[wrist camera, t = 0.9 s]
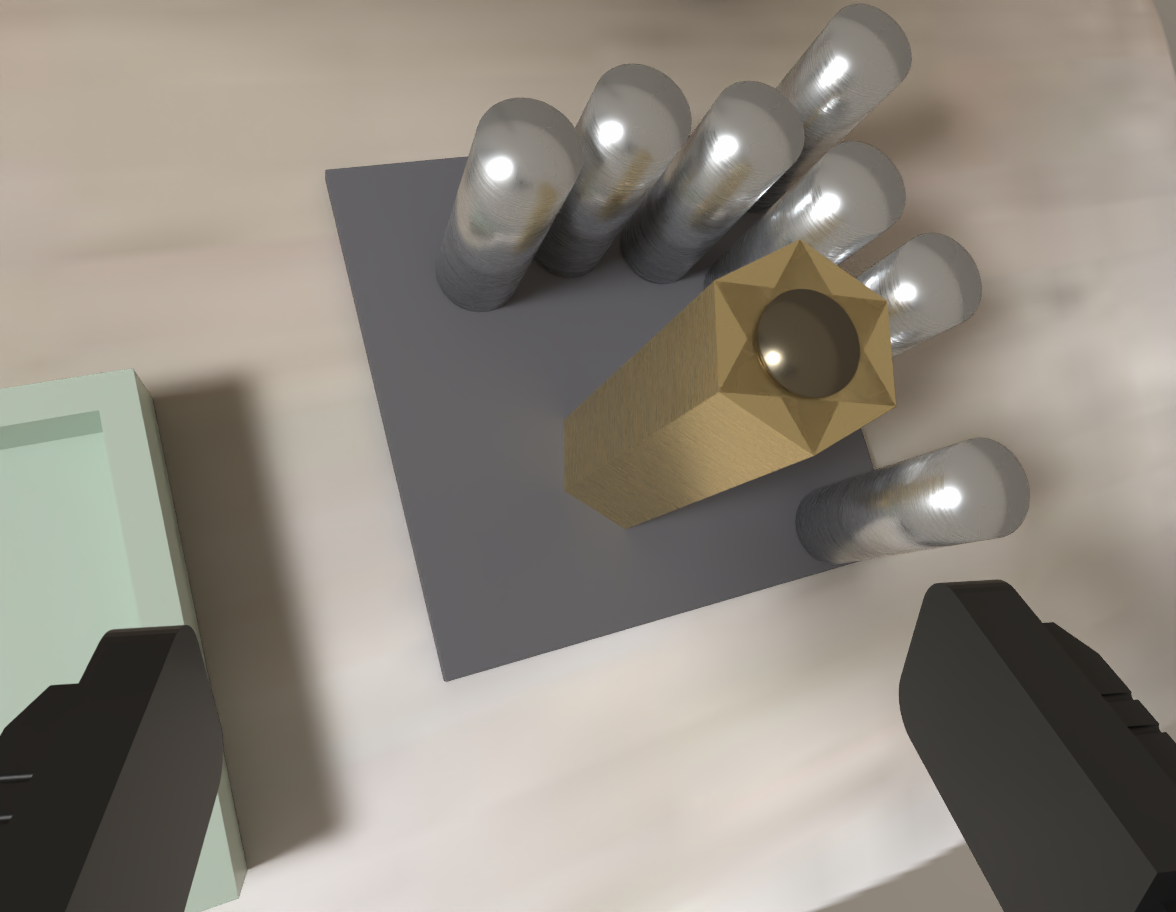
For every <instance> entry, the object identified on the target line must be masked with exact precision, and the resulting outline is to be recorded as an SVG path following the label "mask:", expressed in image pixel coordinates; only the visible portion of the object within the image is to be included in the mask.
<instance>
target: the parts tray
mask: <svg viewBox="0 0 1176 912" xmlns="http://www.w3.org/2000/svg"><path fill="white" fill-rule="evenodd" d="M176 625H189V626H190V627H192V629H193V630H194V632H195V634H196V636H197V639H198V643H199V646H200V650H201V654H202V657H203V661H204V665H205V669H206V672H207V667H206V662H205V657H204V652H203V647H202V642H201V637H200V632H199V627H198V622H197V617H196V612H195V607H194V602H193V597H192V592H191V587H190V582H189V577H188V573H187V568H186V563H185V558H184V553H183V548H182V543H181V538H180V533H179V528H178V523H177V518H176V513H175V508H174V503H173V498H172V493H171V488H170V483H169V478H168V473H167V468H166V463H165V458H164V453H163V448H162V443H161V438H160V433H159V428H158V424H157V419H156V414H155V409H154V404H153V399H152V397H151V395H150V393H149V392H148V390H147V389H146V387H145V386H144V384H143V383H142V381H141V380H140V378H139V377H138V375H137V374H136V372H135V371H134V369H133V368H131V369H124V370H118V371H112V372H105V373H99V374H92V375H86V376H79V377H73V378H66V379H60V380H54V381H47V382H41V383H34V384H28V385H21V386H15V387H8V388H2V389H0V735H1V733H2V731H3V730H4V728H5V727H6V726H7V725H8V724H9V723H10V722H11V721H12V720H13V719H14V718H16V717H17V716H18V715H19V714H20V713H21V712H22V711H23V710H24V709H25V708H26V707H27V706H28V705H30V704H31V703H32V702H33V701H34V700H35V699H36V698H37V697H38V696H39V695H40V694H41V693H42V692H43V691H45V690H46V689H47V688H48V687H49V686H50V685H60V684H76V683H79V681H80V679H81V677H82V675H83V673H84V671H85V669H86V667H87V665H88V663H89V661H90V659H91V657H92V655H93V653H94V651H95V649H96V647H97V645H98V644H99V642H100V640H101V638H102V637H103V636H104V634H105V633H106V632H108V631H109V630H112V629H124V628H141V627H158V626H176ZM207 676H208V672H207ZM208 680H209V677H208ZM209 683H210V682H209ZM246 873H247V865H246V861H245V856H244V851H243V846H242V841H241V836H240V831H239V826H238V821H237V816H236V811H235V806H234V801H233V796H232V791H231V786H230V781H229V776H228V771H227V766H226V761H225V756H224V751H223V764H222V773H221V780H220V785H219V789H218V793H217V796H216V800H215V803H214V807H213V811H212V814H211V818H210V821H209V825H208V828H207V832H206V836H205V839H204V843H203V846H202V850H201V853H200V857H199V861H198V864H197V868H196V871H195V875H194V878H193V882H192V886H191V889H190V893H189V896H188V900H187V903H186V907H185V911H184V912H201V911H204V910H207V909H210V908H212V907H215V906H218V905H221V904H224V903H227V902H230V901H233V900H235V899H238V898H239V896H240V892H241V889H242V886H243V883H244V880H245V877H246Z"/></svg>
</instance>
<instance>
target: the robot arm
mask: <svg viewBox="0 0 1176 912" xmlns="http://www.w3.org/2000/svg"><path fill="white" fill-rule="evenodd" d="M899 704H900V711H901V715H902V720H903V723H904V726H905V729H906V731H907V734H908V736H909V738H910V740H911V741H912V743H913V745H914V747H915V749H916V751H917V753H918V754H919V756H920V758H921V760H922V762H923V764H924V765H925V767H926V769H927V771H928V773H929V775H930V776H931V778H932V780H933V782H934V784H935V786H936V787H937V789H938V791H939V793H940V795H941V797H942V798H943V800H944V802H945V804H946V806H947V808H948V810H949V811H950V813H951V815H952V817H953V819H954V821H955V822H956V824H957V826H958V828H959V830H960V832H961V833H962V835H963V837H964V839H965V841H966V843H967V844H968V846H969V848H970V849H971V852H972V854H973V855H974V857H975V859H976V861H977V863H978V865H979V867H980V868H981V870H982V872H983V874H984V876H985V877H986V879H987V881H988V883H989V885H990V887H991V889H992V890H993V892H994V894H995V896H996V898H997V899H998V901H999V903H1000V905H1001V907H1002V909H1003V911H1004V912H1176V743H1175V742H1174V741H1173V740H1172V738H1171V737H1170V736H1169V735H1168V734H1167V733H1166V732H1163V733H1161V731H1160V730H1159V723H1158V722H1157V721H1156V720H1155V719H1154V717H1153V716H1152V715H1151V714H1150V713H1149V712H1148V710H1147V709H1146V708H1145V707H1144V706H1143V705H1142V704H1141V702H1140V701H1139V700H1133V699H1132V696H1131V691H1130V690H1129V688H1128V687H1127V686H1126V685H1125V684H1124V683H1123V681H1122V680H1121V679H1120V678H1119V677H1118V676H1117V675H1116V673H1115V672H1114V671H1113V670H1112V669H1111V668H1110V666H1109V665H1108V664H1107V663H1106V662H1105V661H1104V659H1103V658H1102V657H1101V656H1100V655H1099V654H1098V653H1097V652H1095V651H1094V650H1092V649H1091V648H1090V647H1088V646H1087V645H1085V644H1084V643H1082V642H1081V641H1079V640H1078V639H1077V638H1075V637H1074V636H1072V635H1071V634H1069V633H1068V632H1067V631H1065V630H1064V629H1062V628H1061V627H1059V626H1058V625H1056V624H1055V623H1054V622H1051V623H1042V622H1041V621H1040V620H1039V618H1038V617H1037V616H1036V615H1035V614H1034V612H1033V611H1032V610H1031V609H1030V607H1029V606H1028V605H1027V604H1026V603H1025V601H1024V600H1023V599H1022V598H1021V596H1020V595H1019V594H1018V593H1017V592H1016V590H1015V589H1014V588H1013V587H1012V586H1011V585H1009V584H1008V583H1007V582H1005V581H1002V580H983V581H966V582H949V583H936V584H934V585H932V586H931V587H930V588H929V589H928V590H927V592H926V594H925V596H924V599H923V602H922V606H921V609H920V613H919V616H918V619H917V623H916V626H915V630H914V633H913V637H912V640H911V644H910V647H909V651H908V654H907V657H906V661H905V664H904V668H903V671H902V675H901V679H900V684H899ZM222 764H223V738H222V730H221V725H220V721H219V717H218V713H217V710H216V706H215V702H214V698H213V695H212V691H211V687H210V683H209V680H208V676H207V672H206V669H205V665H204V661H203V657H202V654H201V650H200V646H199V643H198V639H197V636H196V634H195V632H194V630H193V629H192V627H190V626H189V625H176V626H158V627H141V628H124V629H112V630H109V631H108V632H106V633H105V634H104V636H103V637H102V638H101V640H100V642H99V644H98V645H97V647H96V649H95V651H94V653H93V655H92V657H91V659H90V661H89V663H88V665H87V667H86V669H85V671H84V673H83V675H82V677H81V679H80V681H79V683H76V684H60V685H50V686H49V687H48V688H47V689H46V690H45V691H43V692H42V693H41V694H40V695H39V696H38V697H37V698H36V699H35V700H34V701H33V702H32V703H31V704H30V705H28V706H27V707H26V708H25V709H24V710H23V711H22V712H21V713H20V714H19V715H18V716H17V717H16V718H14V719H13V720H12V721H11V722H10V723H9V724H8V725H7V726H6V727H5V728H4V730H3V731H2V733H1V735H0V912H184V911H185V907H186V903H187V900H188V896H189V893H190V889H191V886H192V882H193V878H194V875H195V871H196V868H197V864H198V861H199V857H200V853H201V850H202V846H203V843H204V839H205V836H206V832H207V828H208V825H209V821H210V818H211V814H212V811H213V807H214V803H215V800H216V796H217V793H218V789H219V785H220V780H221V773H222Z"/></svg>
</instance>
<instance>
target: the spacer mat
mask: <svg viewBox="0 0 1176 912" xmlns="http://www.w3.org/2000/svg"><path fill="white" fill-rule="evenodd" d="M689 137H690V136H688V138H689ZM688 138H687V140H688ZM687 140H686V141H687ZM684 144H685V143H684ZM682 147H683V146H682ZM679 151H680V150H679ZM676 155H677V154H676ZM674 158H675V157H674ZM467 160H468V157H458V158H447V159H436V160H426V161H415V162H405V163H394V164H383V165H373V166H362V167H351V168H341V169H330V170H325V180H326V184H327V188H328V193H329V197H330V201H331V205H332V210H333V214H334V218H335V222H336V226H337V231H338V235H339V239H340V243H341V248H342V252H343V256H344V260H345V265H346V269H347V273H348V277H349V281H350V286H351V290H352V294H353V298H354V303H355V307H356V311H357V315H358V319H359V324H360V328H361V332H362V336H363V341H364V345H365V349H366V353H367V358H368V362H369V366H370V370H371V374H372V379H373V383H374V387H375V391H376V396H377V400H378V404H379V408H380V413H381V417H382V421H383V425H384V429H385V434H386V438H387V442H388V446H389V451H390V455H391V459H392V463H393V467H394V472H395V476H396V480H397V484H398V489H399V493H400V497H401V501H402V506H403V510H404V514H405V518H406V522H407V527H408V531H409V535H410V539H411V544H412V548H413V552H414V556H415V561H416V565H417V569H418V573H419V577H420V582H421V586H422V590H423V594H424V599H425V603H426V607H427V611H428V615H429V620H430V624H431V628H432V632H433V637H434V641H435V645H436V649H437V654H438V658H439V662H440V666H441V670H442V675H443V679H444V681H446V682H447V681H451V680H454V679H458V678H461V677H465V676H468V675H471V674H475V673H478V672H482V671H485V670H489V669H492V668H495V667H499V666H502V665H506V664H509V663H512V662H516V661H519V660H523V659H526V658H530V657H533V656H536V655H540V654H543V653H547V652H550V651H554V650H557V649H560V648H564V647H567V646H571V645H574V644H577V643H581V642H584V641H588V640H591V639H595V638H598V637H601V636H605V635H608V634H612V633H615V632H619V631H622V630H625V629H629V628H632V627H636V626H639V625H642V624H646V623H649V622H653V621H656V620H660V619H663V618H666V617H670V616H673V615H677V614H680V613H684V612H687V611H690V610H694V609H697V608H701V607H704V606H707V605H711V604H714V603H718V602H721V601H725V600H728V599H731V598H735V597H738V596H742V595H745V594H749V593H752V592H755V591H759V590H762V589H766V588H769V587H772V586H776V585H779V584H783V583H786V582H790V581H793V580H796V579H800V578H803V577H807V576H810V575H813V574H817V573H820V572H824V571H827V570H831V569H834V568H837V567H841V566H844V565H848V564H851V563H855V562H858V561H854V562H848V563H842V564H834V565H832V564H825V563H822V562H820V561H818V560H816V559H814V558H813V557H812V556H810V555H809V554H808V553H807V552H806V550H805V549H804V548H803V546H802V545H801V543H800V541H799V539H798V536H797V532H796V527H795V517H796V512H797V508H798V506H799V504H800V502H801V500H802V499H803V498H804V497H805V496H806V495H807V494H808V493H809V492H811V491H813V490H814V489H817V488H820V487H824V486H827V485H830V484H833V483H836V482H839V481H842V480H845V479H848V478H852V477H855V476H858V475H861V474H864V473H867V472H870V471H873V470H874V469H873V465H872V462H871V459H870V456H869V453H868V449H867V446H866V443H865V440H864V436H863V433H862V430H861V428H859V429H858V430H856V431H854V432H853V433H851V434H849V435H848V436H846V437H844V438H843V439H841V440H839V441H838V442H836V443H834V444H833V445H831V446H829V447H828V448H826V449H824V450H823V451H821V452H819V453H818V454H816V455H814V456H812V457H810V458H807V459H804V460H802V461H799V462H797V463H794V464H792V465H789V466H787V467H784V468H781V469H779V470H776V471H774V472H771V473H769V474H766V475H763V476H761V477H758V478H756V479H753V480H751V481H748V482H745V483H743V484H740V485H738V486H735V487H733V488H730V489H728V490H725V491H722V492H720V493H717V494H715V495H712V496H710V497H707V498H704V499H702V500H699V501H697V502H694V503H692V504H689V505H686V506H684V507H681V508H679V509H676V510H674V511H671V512H668V513H666V514H663V515H661V516H658V517H656V518H653V519H651V520H648V521H645V522H643V523H640V524H638V525H635V526H633V527H630V528H627V529H624V528H622V527H620V526H619V525H617V524H616V523H614V522H613V521H611V520H609V519H608V518H606V517H605V516H603V515H601V514H600V513H598V512H597V511H595V510H594V509H592V508H590V507H589V506H587V505H586V504H584V503H583V502H581V501H579V500H578V499H576V498H575V497H573V496H571V495H570V494H568V493H567V492H565V491H564V420H565V419H566V418H567V417H568V416H569V415H570V414H571V413H572V412H573V411H574V410H575V409H576V408H578V407H579V406H580V405H581V404H582V403H583V402H584V401H585V400H586V399H587V398H588V397H589V396H590V395H592V394H593V393H594V392H595V391H596V390H597V389H598V388H599V387H600V386H601V385H602V384H603V383H604V382H606V381H607V380H608V379H609V378H610V377H611V376H612V375H613V374H614V373H615V372H616V371H617V370H618V369H620V368H621V367H622V366H623V365H624V364H625V363H626V362H627V361H628V360H629V359H630V358H631V357H632V356H634V355H635V354H636V353H637V352H638V351H639V350H640V349H641V348H642V347H643V346H644V345H645V344H646V343H648V342H649V341H650V340H651V339H652V338H653V337H654V336H655V335H656V334H657V333H658V332H659V331H660V330H662V329H663V328H664V327H665V326H666V325H667V324H668V323H669V322H670V321H671V320H672V319H673V318H674V317H676V316H677V315H678V314H679V313H680V312H681V311H682V310H683V309H684V308H685V307H686V306H687V305H688V304H690V303H691V302H692V301H693V300H694V299H695V298H696V297H697V296H698V295H699V294H700V293H701V292H702V291H704V288H703V287H704V278H705V275H706V273H707V271H708V269H709V268H710V266H711V265H712V264H713V263H714V262H715V261H716V260H717V259H718V258H719V257H720V256H721V255H722V254H723V253H724V252H725V251H727V250H728V249H729V248H730V247H731V246H732V245H733V244H734V243H735V242H736V241H737V240H738V239H739V238H740V237H741V236H742V235H743V234H744V233H745V232H746V231H747V230H748V229H749V228H750V227H751V226H752V225H753V224H754V223H755V222H756V221H757V220H758V219H759V218H760V217H761V216H762V215H763V214H764V213H766V212H767V211H768V210H767V211H764V212H759V213H752V212H746V213H745V214H744V215H743V216H742V217H741V218H740V219H739V220H738V221H737V222H736V223H735V224H734V225H733V226H732V227H731V228H730V229H729V230H728V231H727V232H726V233H725V234H724V235H723V236H722V237H721V238H720V239H719V240H718V241H717V242H716V243H715V244H714V245H713V246H712V247H711V248H710V249H709V250H708V251H707V252H706V253H705V254H704V255H703V257H702V258H701V259H700V260H699V261H698V262H697V263H696V264H695V265H694V266H693V267H692V268H691V269H690V270H689V271H688V272H687V273H686V274H685V275H684V276H683V277H682V278H680V279H679V280H677V281H676V282H673V283H670V284H664V285H659V284H652V283H649V282H647V281H644V280H642V279H641V278H639V277H638V276H637V275H635V274H634V273H633V272H632V271H631V270H630V269H629V267H628V266H627V264H626V263H625V261H624V259H623V256H622V254H621V249H620V237H621V233H622V230H623V229H622V230H621V232H620V233H619V234H618V236H617V237H616V238H615V240H614V241H613V243H612V244H611V245H610V247H609V248H608V249H607V251H606V252H605V254H604V255H603V256H602V258H601V259H600V260H599V262H598V263H597V265H596V266H595V267H594V268H593V269H592V270H591V271H590V272H588V273H587V274H585V275H582V276H580V277H575V278H563V277H558V276H555V275H553V274H550V273H549V272H547V271H545V270H544V269H543V268H541V267H540V266H539V265H538V264H537V263H536V262H535V261H534V259H532V261H531V263H530V265H529V267H528V268H527V270H526V272H525V274H524V276H523V277H522V279H521V281H520V283H519V285H518V287H517V288H516V290H515V292H514V294H513V296H512V297H511V298H510V300H509V301H508V302H507V303H506V304H505V305H503V306H502V307H500V308H498V309H496V310H493V311H489V312H482V313H481V312H471V311H467V310H464V309H462V308H460V307H458V306H456V305H455V304H453V303H452V302H451V301H450V300H449V299H448V298H447V297H446V296H445V295H444V294H443V292H442V291H441V289H440V287H439V285H438V282H437V279H436V273H435V267H436V261H437V257H438V254H439V251H440V247H441V244H442V241H443V238H444V234H445V231H446V228H447V225H448V221H449V218H450V215H451V212H452V208H453V205H454V202H455V199H456V195H457V192H458V189H459V186H460V182H461V179H462V176H463V173H464V169H465V166H466V163H467ZM671 162H672V161H671ZM668 166H669V165H668ZM666 169H667V168H666ZM663 173H664V172H663ZM660 177H661V176H660ZM658 180H659V179H658ZM655 184H656V183H655ZM650 191H651V190H650ZM647 195H648V194H647ZM645 198H646V197H645ZM642 202H643V201H642ZM639 206H640V205H639ZM637 209H638V208H637ZM634 213H635V212H634ZM631 217H632V216H631ZM629 220H630V219H629ZM626 224H627V223H626ZM623 228H624V227H623ZM860 561H861V560H860Z"/></svg>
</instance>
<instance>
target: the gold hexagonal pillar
mask: <svg viewBox="0 0 1176 912" xmlns="http://www.w3.org/2000/svg"><path fill="white" fill-rule="evenodd" d="M894 407H896V398H895V386H894V374H893V362H892V350H891V338H890V327H889V315H888V303H887V301H886V300H885V299H884V298H882V297H881V296H879V295H878V294H877V293H875V292H874V291H872V290H871V289H870V288H868V287H867V286H865V285H864V284H862V283H861V282H860V281H858V280H857V279H855V278H854V277H853V276H851V275H850V274H848V273H847V272H846V271H844V270H843V269H841V268H840V267H839V266H837V265H836V264H834V263H833V262H832V261H830V260H829V259H827V258H826V257H824V256H823V255H822V254H820V253H819V252H817V251H816V250H815V249H813V248H812V247H810V246H809V245H808V244H806V243H805V242H803V241H802V240H801V239H800V240H797V241H795V242H793V243H791V244H789V245H787V246H785V247H783V248H781V249H779V250H777V251H775V252H773V253H770V254H768V255H766V256H764V257H762V258H760V259H758V260H756V261H754V262H752V263H750V264H748V265H746V266H743V267H741V268H739V269H737V270H735V271H733V272H731V273H729V274H727V275H725V276H723V277H721V278H719V279H716V280H714V281H713V282H712V283H711V284H710V285H709V286H708V287H707V288H706V289H705V290H704V291H702V292H701V293H700V294H699V295H698V296H697V297H696V298H695V299H694V300H693V301H692V302H691V303H690V304H688V305H687V306H686V307H685V308H684V309H683V310H682V311H681V312H680V313H679V314H678V315H677V316H676V317H674V318H673V319H672V320H671V321H670V322H669V323H668V324H667V325H666V326H665V327H664V328H663V329H662V330H660V331H659V332H658V333H657V334H656V335H655V336H654V337H653V338H652V339H651V340H650V341H649V342H648V343H646V344H645V345H644V346H643V347H642V348H641V349H640V350H639V351H638V352H637V353H636V354H635V355H634V356H632V357H631V358H630V359H629V360H628V361H627V362H626V363H625V364H624V365H623V366H622V367H621V368H620V369H618V370H617V371H616V372H615V373H614V374H613V375H612V376H611V377H610V378H609V379H608V380H607V381H606V382H604V383H603V384H602V385H601V386H600V387H599V388H598V389H597V390H596V391H595V392H594V393H593V394H592V395H590V396H589V397H588V398H587V399H586V400H585V401H584V402H583V403H582V404H581V405H580V406H579V407H578V408H576V409H575V410H574V411H573V412H572V413H571V414H570V415H569V416H568V417H567V418H566V419H565V420H564V491H565V492H567V493H568V494H570V495H571V496H573V497H575V498H576V499H578V500H579V501H581V502H583V503H584V504H586V505H587V506H589V507H590V508H592V509H594V510H595V511H597V512H598V513H600V514H601V515H603V516H605V517H606V518H608V519H609V520H611V521H613V522H614V523H616V524H617V525H619V526H620V527H622V528H624V529H627V528H630V527H633V526H635V525H638V524H640V523H643V522H645V521H648V520H651V519H653V518H656V517H658V516H661V515H663V514H666V513H668V512H671V511H674V510H676V509H679V508H681V507H684V506H686V505H689V504H692V503H694V502H697V501H699V500H702V499H704V498H707V497H710V496H712V495H715V494H717V493H720V492H722V491H725V490H728V489H730V488H733V487H735V486H738V485H740V484H743V483H745V482H748V481H751V480H753V479H756V478H758V477H761V476H763V475H766V474H769V473H771V472H774V471H776V470H779V469H781V468H784V467H787V466H789V465H792V464H794V463H797V462H799V461H802V460H804V459H807V458H810V457H812V456H814V455H816V454H818V453H819V452H821V451H823V450H824V449H826V448H828V447H829V446H831V445H833V444H834V443H836V442H838V441H839V440H841V439H843V438H844V437H846V436H848V435H849V434H851V433H853V432H854V431H856V430H858V429H859V428H861V427H863V426H864V425H866V424H868V423H869V422H871V421H873V420H874V419H876V418H878V417H879V416H881V415H883V414H884V413H886V412H888V411H889V410H891V409H893V408H894Z"/></svg>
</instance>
